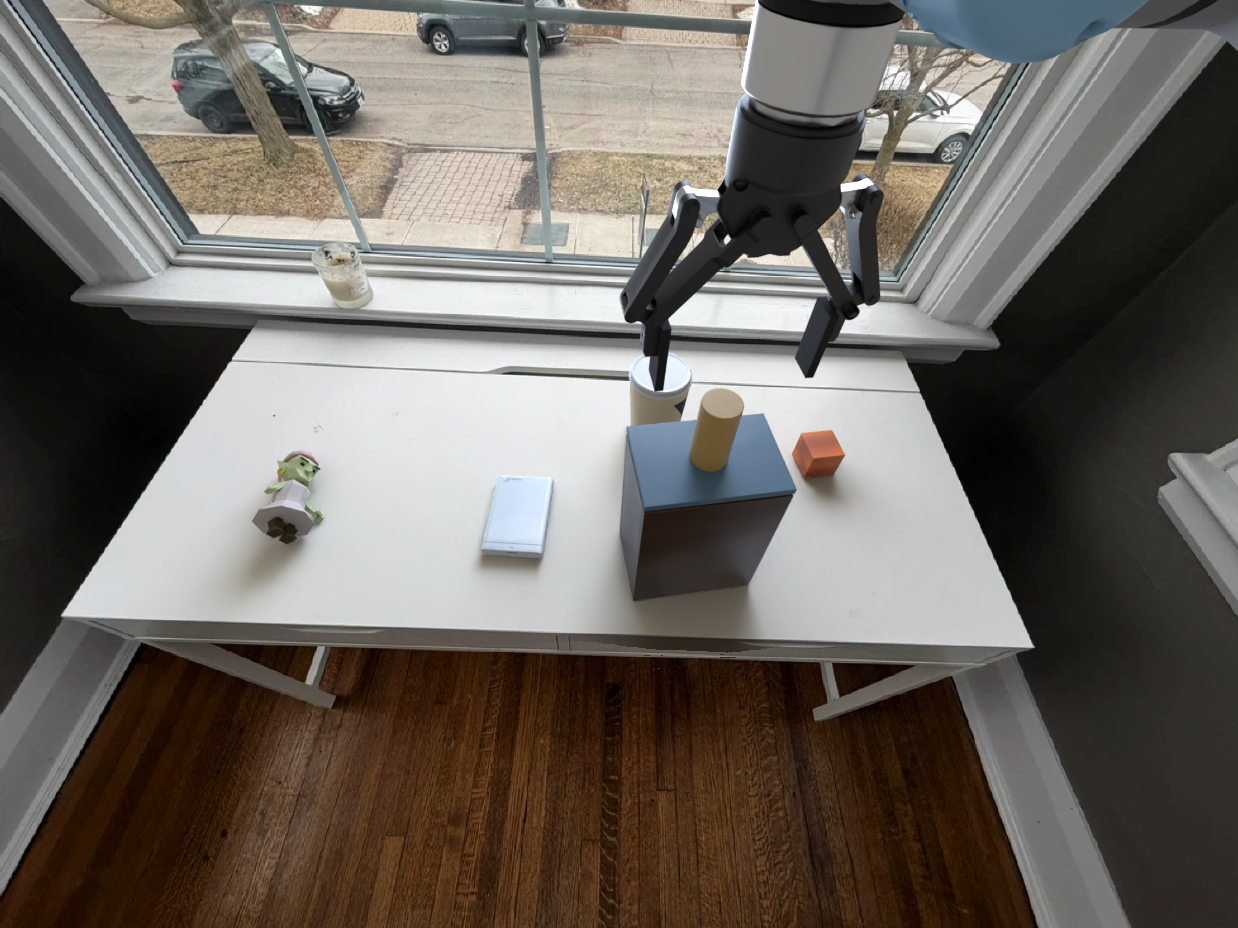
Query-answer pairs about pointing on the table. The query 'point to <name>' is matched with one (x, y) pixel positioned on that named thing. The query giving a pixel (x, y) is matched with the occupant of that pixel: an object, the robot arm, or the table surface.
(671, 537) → the box
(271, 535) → the figurine
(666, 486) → the sliding lid
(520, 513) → the hard drive
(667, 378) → the coffee cup
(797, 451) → the block
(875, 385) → the table surface
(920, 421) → the table surface
